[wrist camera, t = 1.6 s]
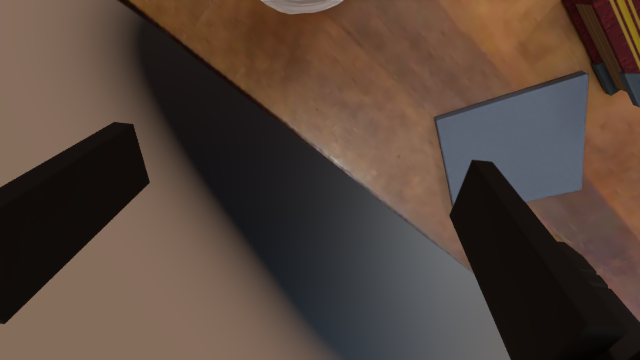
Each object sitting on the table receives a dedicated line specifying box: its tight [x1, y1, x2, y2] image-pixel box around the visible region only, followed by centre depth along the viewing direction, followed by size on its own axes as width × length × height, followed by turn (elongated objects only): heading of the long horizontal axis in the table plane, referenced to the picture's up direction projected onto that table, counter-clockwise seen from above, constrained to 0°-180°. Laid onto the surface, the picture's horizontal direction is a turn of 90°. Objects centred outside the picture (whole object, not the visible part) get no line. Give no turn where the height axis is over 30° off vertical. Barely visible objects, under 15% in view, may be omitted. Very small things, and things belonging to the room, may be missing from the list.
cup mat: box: [434, 71, 588, 206], centre depth 34 cm, size 14×14×1 cm
